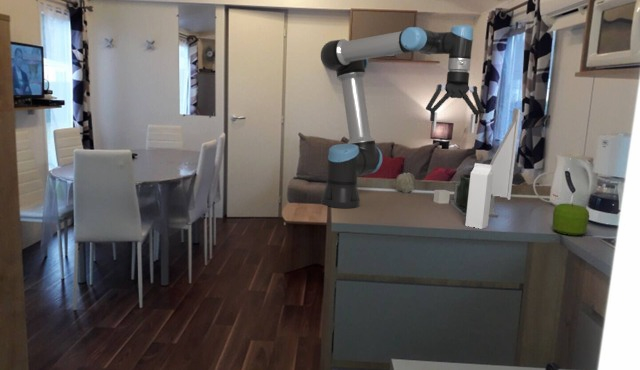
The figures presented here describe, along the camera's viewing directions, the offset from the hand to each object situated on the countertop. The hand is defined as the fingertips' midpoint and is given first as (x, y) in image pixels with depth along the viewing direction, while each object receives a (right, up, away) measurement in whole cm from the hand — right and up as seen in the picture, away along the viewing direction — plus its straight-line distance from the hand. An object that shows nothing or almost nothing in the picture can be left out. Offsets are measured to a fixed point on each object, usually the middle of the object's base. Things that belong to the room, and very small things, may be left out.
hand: (452, 131), depth 190 cm
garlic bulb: (-9, -22, +53) cm, 58 cm away
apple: (+38, -36, -8) cm, 53 cm away
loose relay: (+3, -26, +33) cm, 43 cm away
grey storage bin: (+13, -29, +23) cm, 39 cm away
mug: (+13, -28, +22) cm, 38 cm away
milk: (+7, -34, -4) cm, 35 cm away
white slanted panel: (+33, -24, +58) cm, 71 cm away
